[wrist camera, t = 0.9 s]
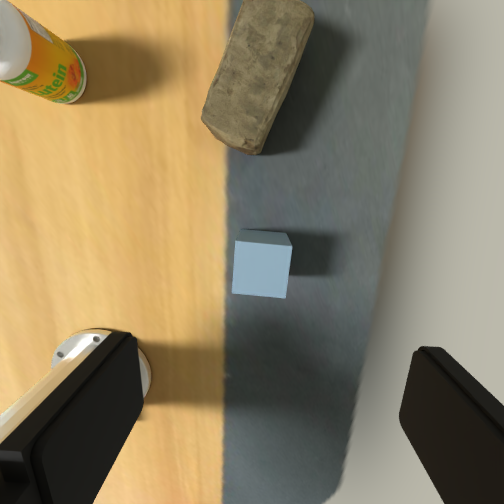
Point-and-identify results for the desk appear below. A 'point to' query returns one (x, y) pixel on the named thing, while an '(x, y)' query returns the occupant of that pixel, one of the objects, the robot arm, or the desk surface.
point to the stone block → (256, 71)
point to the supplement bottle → (38, 58)
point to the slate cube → (261, 263)
